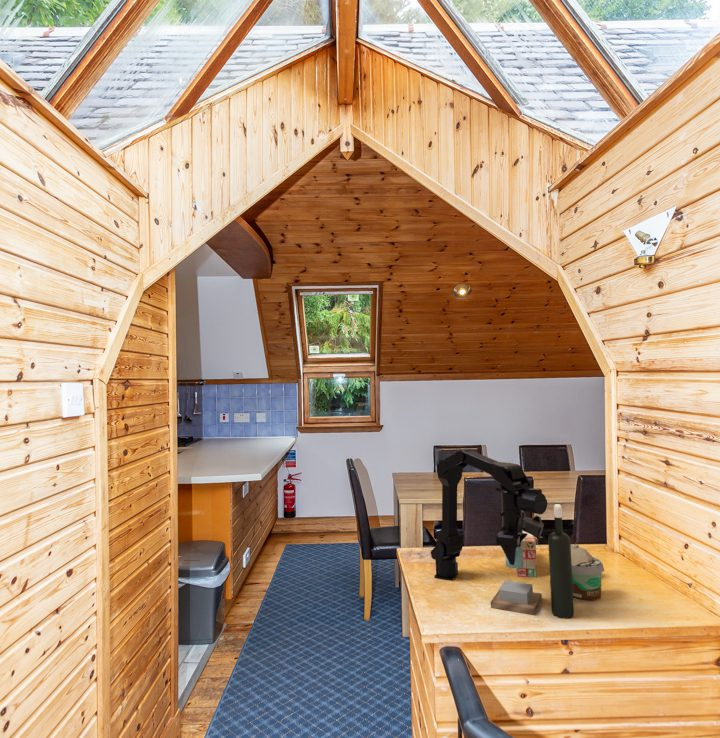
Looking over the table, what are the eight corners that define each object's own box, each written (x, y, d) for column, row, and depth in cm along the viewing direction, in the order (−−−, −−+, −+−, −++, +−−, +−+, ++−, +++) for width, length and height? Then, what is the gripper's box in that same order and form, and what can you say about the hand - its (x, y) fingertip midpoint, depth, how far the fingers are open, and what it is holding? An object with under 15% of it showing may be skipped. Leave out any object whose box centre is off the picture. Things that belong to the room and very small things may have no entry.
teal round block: (503, 567, 153) (503, 549, 153) (507, 561, 157) (507, 544, 157) (521, 569, 150) (520, 551, 151) (525, 564, 155) (524, 546, 155)
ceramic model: (606, 577, 172) (605, 546, 172) (584, 584, 166) (582, 552, 166) (570, 565, 184) (568, 536, 184) (548, 572, 178) (546, 542, 178)
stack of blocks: (512, 556, 195) (510, 523, 196) (529, 557, 194) (528, 523, 194) (517, 577, 174) (516, 539, 175) (537, 578, 173) (535, 540, 173)
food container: (586, 606, 150) (584, 570, 150) (568, 598, 155) (566, 564, 156) (614, 596, 156) (612, 562, 156) (596, 590, 161) (595, 556, 162)
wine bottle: (562, 620, 142) (557, 508, 143) (547, 612, 147) (542, 503, 148) (578, 615, 144) (573, 505, 145) (562, 608, 149) (557, 501, 150)
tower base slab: (491, 610, 151) (490, 601, 151) (501, 595, 161) (501, 587, 162) (534, 618, 145) (533, 609, 145) (542, 601, 156) (541, 593, 156)
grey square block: (498, 600, 152) (498, 589, 152) (505, 590, 159) (505, 580, 159) (527, 604, 148) (526, 594, 148) (532, 594, 155) (532, 584, 155)
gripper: (534, 518, 142) (536, 576, 142) (546, 503, 159) (548, 555, 158) (493, 514, 148) (495, 570, 147) (508, 500, 164) (511, 551, 163)
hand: (514, 561), depth 154 cm, fingers closed on teal round block, 5 cm apart
